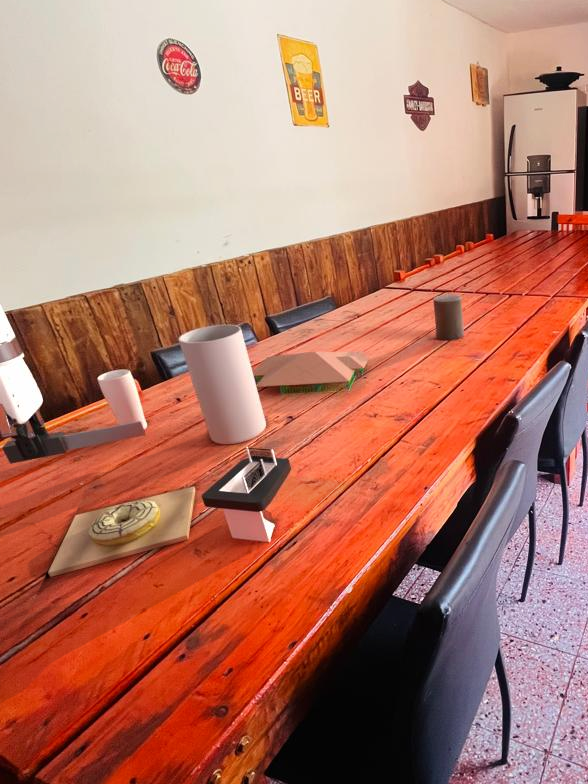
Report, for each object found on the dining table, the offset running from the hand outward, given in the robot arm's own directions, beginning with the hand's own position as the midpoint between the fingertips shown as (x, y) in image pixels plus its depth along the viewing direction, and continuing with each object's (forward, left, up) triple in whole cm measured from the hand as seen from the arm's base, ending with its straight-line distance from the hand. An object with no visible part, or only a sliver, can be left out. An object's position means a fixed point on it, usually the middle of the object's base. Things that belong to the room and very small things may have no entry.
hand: (39, 452), depth 88 cm
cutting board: (+11, -8, -15) cm, 20 cm away
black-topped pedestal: (+33, -17, -16) cm, 40 cm away
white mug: (+5, +36, -15) cm, 40 cm away
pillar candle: (+98, +63, -15) cm, 117 cm away
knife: (+5, 0, -1) cm, 5 cm away
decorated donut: (+10, -8, -15) cm, 20 cm away
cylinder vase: (+29, +22, -15) cm, 39 cm away
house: (+49, +48, -15) cm, 70 cm away
